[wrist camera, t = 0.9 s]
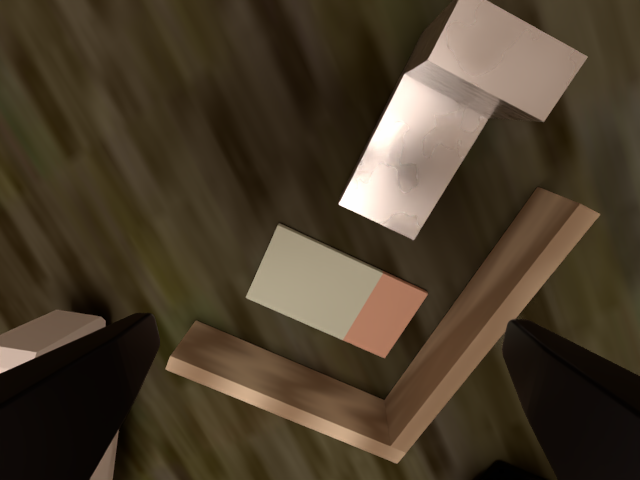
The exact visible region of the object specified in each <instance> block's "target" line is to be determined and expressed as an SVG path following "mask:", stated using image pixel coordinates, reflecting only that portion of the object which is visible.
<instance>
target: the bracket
mask: <svg viewBox="0 0 640 480" xmlns="http://www.w3.org/2000/svg"><path fill="white" fill-rule="evenodd" d="M587 57H588V56H586V55H584V54H582V53H580V52H579V51H577V50H575V49H573V48H571V47H570V46H568V45H566V44H564V43H562V42H561V41H559V40H557V39H555V38H553V37H552V36H550V35H548V34H546V33H544V32H543V31H541V30H539V29H537V28H535V27H534V26H532V25H530V24H528V23H526V22H525V21H523V20H521V19H519V18H517V17H516V16H514V15H512V14H510V13H508V12H507V11H505V10H503V9H501V8H499V7H498V6H496V5H494V4H492V3H490V2H489V1H487V0H453V1H452V2H451V3H450V4H449V5H448V6H447V7H446V8H445V9H444V10H443V11H442V12H441V13H440V14H439V15H438V16H437V17H436V18H435V19H434V20H433V21H432V22H431V23H430V24H429V25H428V27H427V28H426V29H425V30H424V31H423V32H422V34H421V36H420V38H419V40H418V42H417V44H416V46H415V48H414V50H413V52H412V54H411V56H410V58H409V60H408V62H407V64H406V66H405V68H404V70H403V72H402V74H401V76H400V78H399V80H398V82H397V84H396V86H395V88H394V90H393V92H392V94H391V96H390V98H389V100H388V102H387V104H386V106H385V108H384V110H383V112H382V114H381V116H380V118H379V120H378V122H377V124H376V126H375V128H374V130H373V132H372V134H371V136H370V138H369V140H368V142H367V144H366V146H365V148H364V150H363V152H362V154H361V156H360V158H359V160H358V162H357V164H356V166H355V168H354V170H353V172H352V174H351V176H350V178H349V180H348V182H347V184H346V186H345V188H344V190H343V192H342V194H341V196H340V198H339V205H341V206H343V207H345V208H347V209H349V210H351V211H354V212H356V213H358V214H360V215H362V216H364V217H366V218H368V219H370V220H373V221H375V222H377V223H379V224H381V225H383V226H385V227H387V228H389V229H392V230H394V231H396V232H398V233H400V234H402V235H404V236H406V237H408V238H410V239H413V240H414V239H415V237H416V236H417V234H418V232H419V231H420V229H421V228H422V226H423V224H424V223H425V221H426V220H427V218H428V216H429V215H430V213H431V211H432V210H433V208H434V207H435V205H436V203H437V202H438V200H439V198H440V197H441V195H442V194H443V192H444V190H445V189H446V187H447V185H448V184H449V182H450V181H451V179H452V177H453V176H454V174H455V172H456V171H457V169H458V168H459V166H460V164H461V163H462V161H463V159H464V158H465V156H466V155H467V153H468V151H469V150H470V148H471V146H472V145H473V143H474V142H475V140H476V138H477V137H478V135H479V133H480V132H481V130H482V129H483V127H484V125H485V124H486V122H487V120H488V119H489V118H492V119H508V120H523V121H539V122H544V121H545V119H546V118H547V116H548V115H549V113H550V112H551V110H552V109H553V108H554V106H555V105H556V103H557V102H558V100H559V99H560V97H561V96H562V94H563V93H564V91H565V90H566V88H567V87H568V85H569V84H570V82H571V81H572V79H573V78H574V76H575V75H576V73H577V72H578V71H579V69H580V68H581V66H582V65H583V63H584V62H585V60H586V59H587Z"/></svg>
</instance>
